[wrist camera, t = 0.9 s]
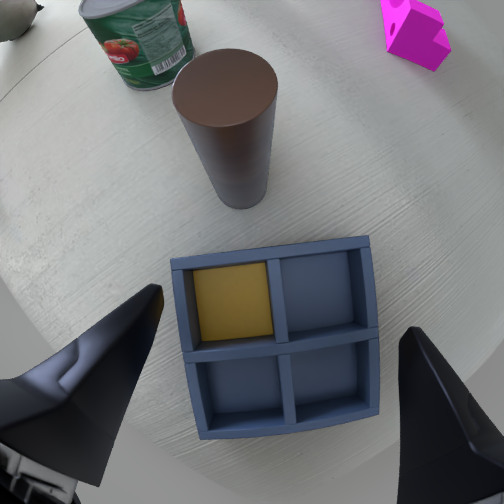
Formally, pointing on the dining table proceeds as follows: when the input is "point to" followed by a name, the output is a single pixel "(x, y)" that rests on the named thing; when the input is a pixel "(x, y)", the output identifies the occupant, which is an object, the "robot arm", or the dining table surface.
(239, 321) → the grid
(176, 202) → the dining table surface
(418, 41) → the toy block
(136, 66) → the canned tomato
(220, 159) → the brown wooden dowel
